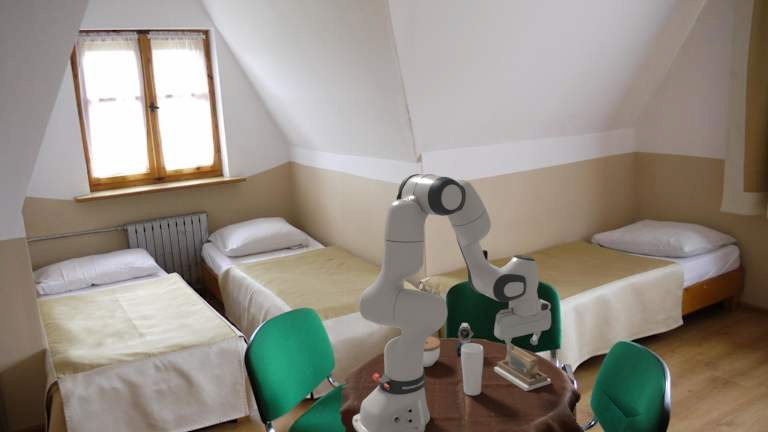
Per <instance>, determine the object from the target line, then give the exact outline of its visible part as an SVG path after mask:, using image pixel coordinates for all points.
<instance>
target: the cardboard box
mask: <svg viewBox="0 0 768 432" xmlns="http://www.w3.org/2000/svg"><path fill="white" fill-rule="evenodd" d="M506 357H507V366H508V367H510V368H512V369H513V370H515V371H517V372H518V373H520V374H522V375H523V376H525V377H526V378H528V379H530V380H531V379H534V378H536V375H537V370H539V369H538V361H539V359H538V357H536V356H534V355H533V354H530V353H528V352H527V351H525V350H523V349H521V348H519V347H517V345H514V350H511V351H509V350H507V349H506Z"/></svg>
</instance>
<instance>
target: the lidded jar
mask: <svg viewBox="0 0 768 432" xmlns="http://www.w3.org/2000/svg"><path fill="white" fill-rule="evenodd" d="M440 353H441V341H440V340H439V338H437V337H434V336H432V335H431V336H430V337H429V338H428V340H427V341H426V344H425V347H424V357H423V368H424V367H425V368H428V367H432V366H434V364H435V363H436V362H437V361H438V359H439V357H440Z"/></svg>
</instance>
